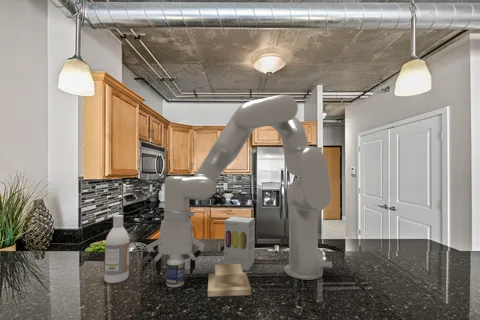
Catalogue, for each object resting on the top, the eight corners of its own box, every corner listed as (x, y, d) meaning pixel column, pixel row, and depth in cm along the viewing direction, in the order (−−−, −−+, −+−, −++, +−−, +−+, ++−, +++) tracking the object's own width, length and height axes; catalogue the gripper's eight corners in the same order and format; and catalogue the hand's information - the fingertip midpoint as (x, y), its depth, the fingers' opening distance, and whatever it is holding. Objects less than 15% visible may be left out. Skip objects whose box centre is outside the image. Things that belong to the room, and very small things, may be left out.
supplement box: (222, 268, 90) (223, 220, 91) (231, 259, 99) (231, 216, 100) (248, 271, 87) (249, 221, 88) (255, 262, 96) (255, 217, 97)
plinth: (245, 277, 82) (246, 261, 83) (251, 294, 70) (251, 276, 71) (208, 278, 81) (208, 262, 81) (207, 296, 69) (207, 278, 69)
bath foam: (127, 282, 78) (129, 216, 79) (102, 285, 76) (104, 217, 77) (129, 273, 85) (130, 213, 86) (105, 276, 82) (107, 214, 83)
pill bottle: (179, 288, 74) (180, 254, 74) (162, 286, 75) (163, 253, 76) (187, 280, 79) (187, 249, 80) (171, 279, 80) (171, 248, 81)
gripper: (205, 213, 83) (204, 267, 82) (150, 214, 81) (149, 268, 80) (204, 217, 75) (203, 276, 74) (144, 218, 74) (142, 278, 73)
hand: (175, 272), depth 77 cm, fingers open, 9 cm apart
